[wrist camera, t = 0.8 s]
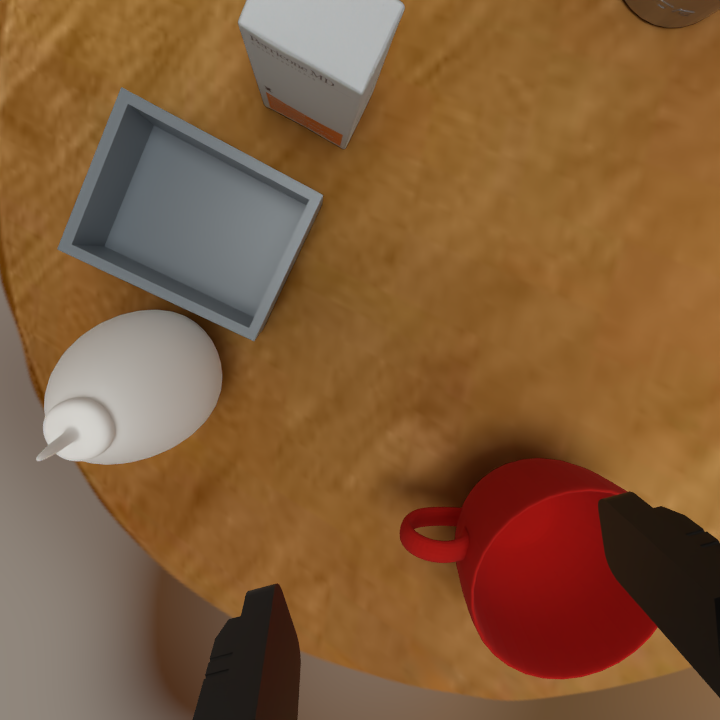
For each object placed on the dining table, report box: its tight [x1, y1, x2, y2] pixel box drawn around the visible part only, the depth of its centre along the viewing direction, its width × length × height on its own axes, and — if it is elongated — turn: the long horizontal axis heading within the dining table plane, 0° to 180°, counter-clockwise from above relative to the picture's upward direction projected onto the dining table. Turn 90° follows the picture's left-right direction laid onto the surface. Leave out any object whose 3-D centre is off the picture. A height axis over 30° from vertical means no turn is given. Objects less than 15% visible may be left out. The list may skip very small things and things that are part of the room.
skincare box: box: [238, 0, 405, 149], centre depth 26 cm, size 6×4×12 cm
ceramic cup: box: [400, 458, 657, 679], centre depth 34 cm, size 13×17×10 cm
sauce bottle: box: [36, 310, 222, 465], centre depth 26 cm, size 8×8×18 cm
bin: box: [58, 87, 323, 341], centre depth 31 cm, size 10×12×5 cm
